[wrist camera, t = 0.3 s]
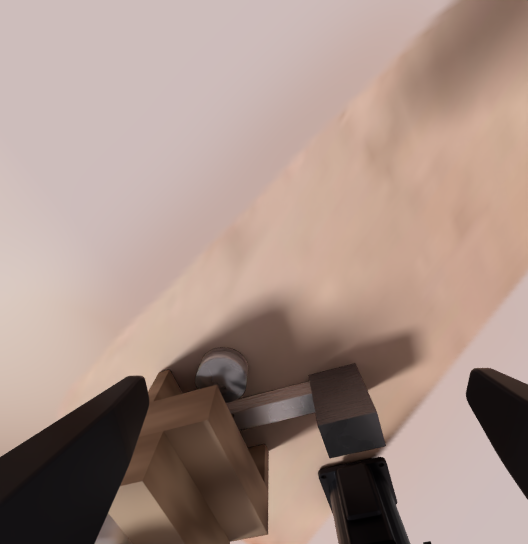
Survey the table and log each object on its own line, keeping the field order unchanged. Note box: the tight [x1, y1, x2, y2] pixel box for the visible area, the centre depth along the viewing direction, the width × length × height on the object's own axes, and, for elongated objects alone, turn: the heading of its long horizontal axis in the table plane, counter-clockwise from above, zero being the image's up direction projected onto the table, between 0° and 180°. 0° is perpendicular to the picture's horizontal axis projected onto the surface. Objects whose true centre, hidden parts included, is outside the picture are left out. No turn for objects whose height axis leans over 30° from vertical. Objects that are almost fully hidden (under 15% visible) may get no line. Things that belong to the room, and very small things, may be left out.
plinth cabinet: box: [108, 370, 269, 544], centre depth 21 cm, size 12×6×10 cm, turn 19°
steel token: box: [195, 347, 248, 403], centre depth 23 cm, size 4×4×2 cm
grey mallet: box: [226, 363, 386, 458], centre depth 22 cm, size 3×12×5 cm, turn 109°
